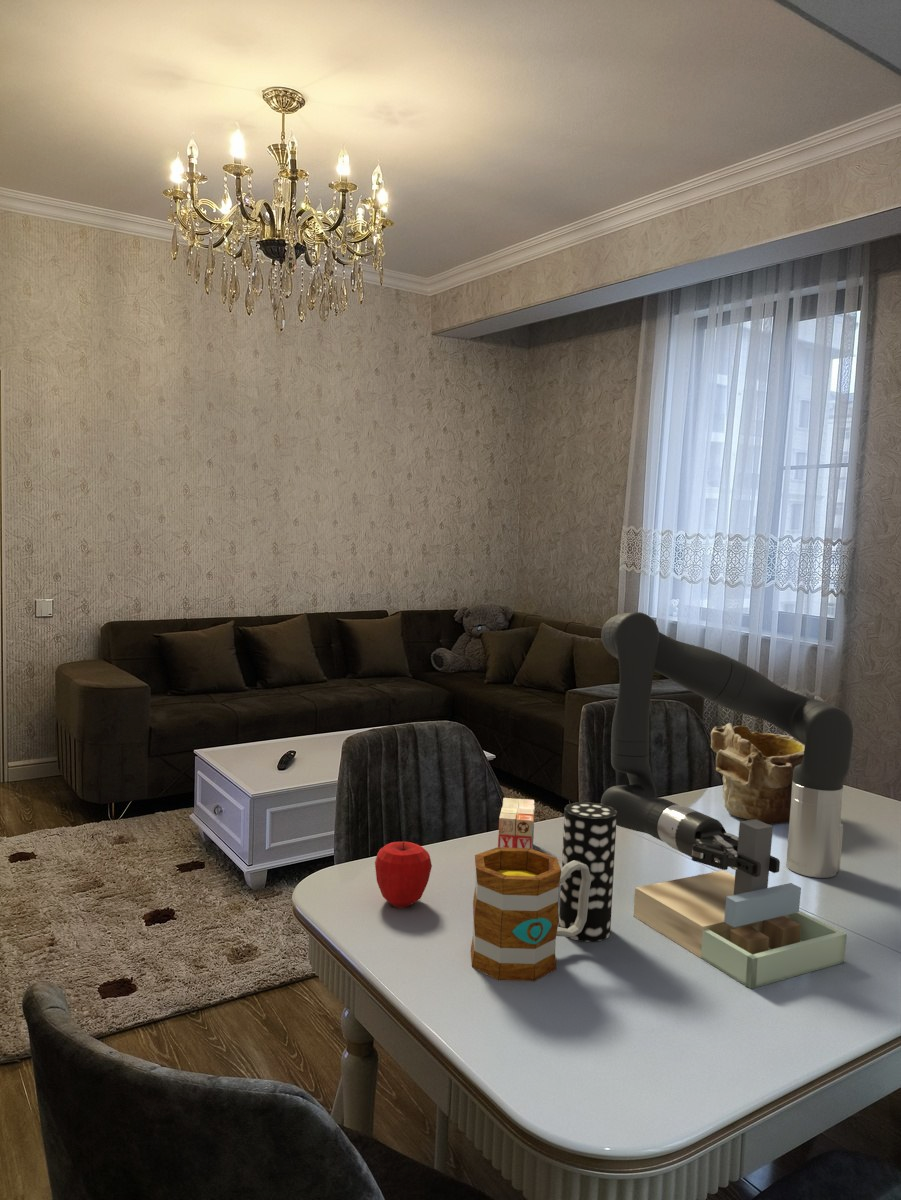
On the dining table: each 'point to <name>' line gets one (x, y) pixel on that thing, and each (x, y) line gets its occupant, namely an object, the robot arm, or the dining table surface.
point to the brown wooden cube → (749, 939)
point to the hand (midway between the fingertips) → (768, 868)
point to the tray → (777, 954)
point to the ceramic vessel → (756, 772)
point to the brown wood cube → (781, 932)
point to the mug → (521, 912)
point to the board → (688, 908)
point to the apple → (402, 872)
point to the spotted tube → (594, 846)
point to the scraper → (758, 881)
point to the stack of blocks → (516, 823)
